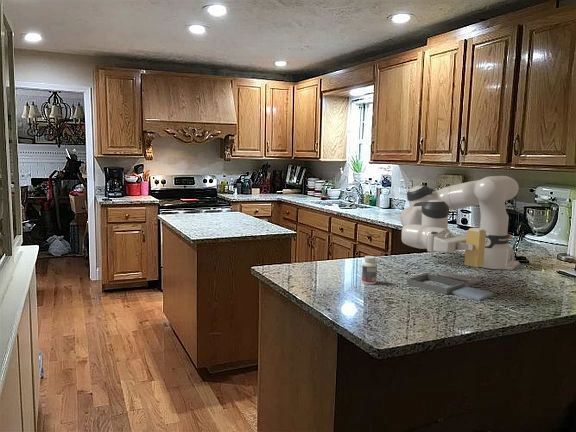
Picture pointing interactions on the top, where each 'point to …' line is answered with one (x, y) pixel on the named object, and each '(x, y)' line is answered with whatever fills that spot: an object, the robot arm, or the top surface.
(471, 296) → the mat
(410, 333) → the top surface
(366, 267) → the pill bottle
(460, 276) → the case
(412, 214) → the robot arm
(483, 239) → the block
